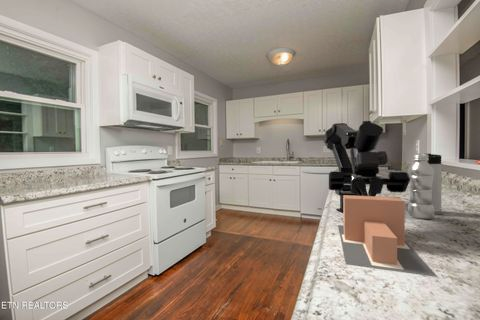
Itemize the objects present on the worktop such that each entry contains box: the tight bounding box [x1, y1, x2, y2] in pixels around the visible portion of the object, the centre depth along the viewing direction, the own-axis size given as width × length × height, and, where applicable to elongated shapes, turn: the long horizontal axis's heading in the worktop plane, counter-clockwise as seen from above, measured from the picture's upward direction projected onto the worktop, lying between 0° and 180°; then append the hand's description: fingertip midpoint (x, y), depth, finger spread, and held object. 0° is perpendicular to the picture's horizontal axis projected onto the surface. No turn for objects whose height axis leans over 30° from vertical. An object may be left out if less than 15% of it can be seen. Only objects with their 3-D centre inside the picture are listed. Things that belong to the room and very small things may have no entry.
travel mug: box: [427, 153, 443, 216], centre depth 76 cm, size 6×7×20 cm
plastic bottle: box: [407, 153, 435, 220], centre depth 69 cm, size 6×7×20 cm
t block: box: [342, 195, 406, 265], centre depth 48 cm, size 14×12×10 cm
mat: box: [337, 224, 439, 278], centre depth 50 cm, size 24×14×1 cm, turn 160°
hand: (370, 208), depth 55 cm, fingers closed, pressing on t block
